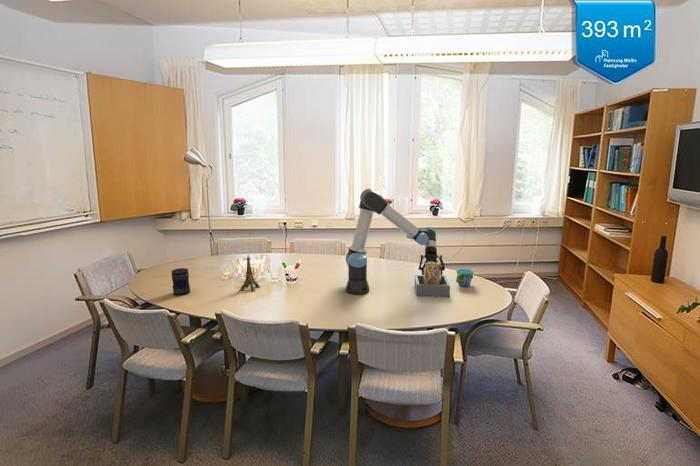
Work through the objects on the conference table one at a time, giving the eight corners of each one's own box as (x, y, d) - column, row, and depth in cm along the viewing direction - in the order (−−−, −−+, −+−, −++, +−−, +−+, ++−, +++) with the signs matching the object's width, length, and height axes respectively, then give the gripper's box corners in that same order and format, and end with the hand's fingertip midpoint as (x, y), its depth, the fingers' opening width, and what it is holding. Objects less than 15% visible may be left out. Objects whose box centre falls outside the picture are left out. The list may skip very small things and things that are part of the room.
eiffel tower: (254, 292, 262) (252, 254, 257) (238, 290, 264) (236, 253, 259) (260, 286, 272) (259, 249, 267) (245, 285, 274) (243, 249, 269)
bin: (416, 296, 254) (416, 284, 252) (414, 285, 273) (414, 274, 272) (449, 297, 252) (450, 285, 251) (445, 286, 272) (445, 275, 270)
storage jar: (186, 289, 266) (184, 267, 263) (192, 293, 260) (191, 270, 257) (170, 293, 260) (168, 270, 257) (177, 297, 253) (175, 273, 250)
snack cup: (466, 281, 282) (466, 267, 280) (478, 285, 274) (479, 270, 271) (450, 285, 274) (450, 270, 272) (462, 290, 265) (463, 274, 263)
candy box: (437, 285, 265) (438, 262, 261) (439, 287, 260) (440, 264, 257) (423, 285, 264) (424, 262, 261) (425, 287, 260) (426, 264, 257)
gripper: (446, 251, 272) (449, 282, 260) (413, 251, 274) (414, 281, 262) (448, 246, 266) (450, 277, 254) (414, 245, 268) (415, 276, 256)
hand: (432, 279), depth 258 cm, fingers closed on candy box, 9 cm apart
